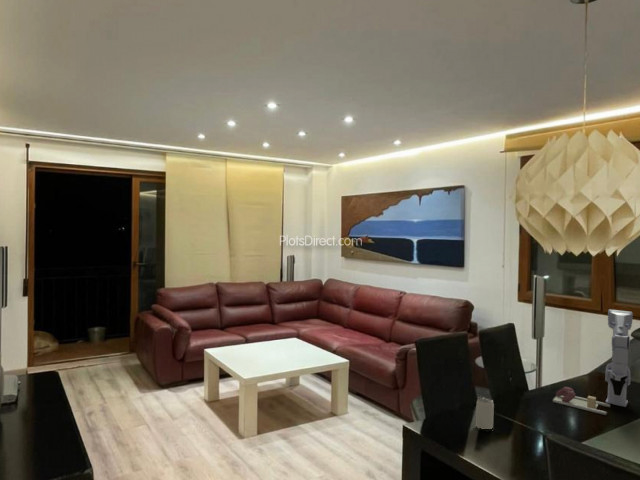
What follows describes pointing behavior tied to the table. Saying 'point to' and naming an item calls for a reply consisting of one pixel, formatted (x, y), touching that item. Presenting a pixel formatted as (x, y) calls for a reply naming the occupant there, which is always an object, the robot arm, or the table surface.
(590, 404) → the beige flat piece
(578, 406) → the aluminium rails
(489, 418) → the can
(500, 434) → the table surface
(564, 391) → the purple lumpy piece
